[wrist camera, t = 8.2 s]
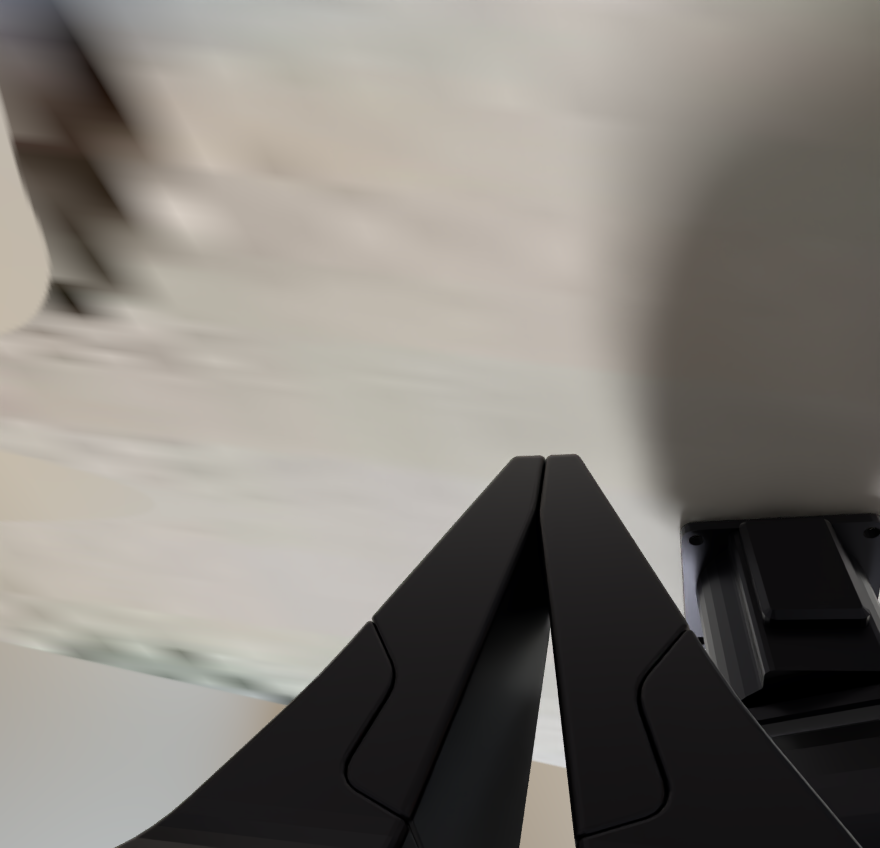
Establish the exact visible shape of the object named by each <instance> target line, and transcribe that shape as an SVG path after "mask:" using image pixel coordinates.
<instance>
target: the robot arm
mask: <svg viewBox="0 0 880 848" xmlns="http://www.w3.org/2000/svg"><path fill="white" fill-rule="evenodd" d="M871 527H874V528H873V529H871V530H866V529H867V528H871ZM694 535H700V537H697V538H693V537H692V536H694ZM680 537H681V555H682V573H683V591H684V608H685V618H684V617H683V615H682V614H681V612H680V611H679V609H678V608H677V606H676V604H675V603H674V601H673V600H672V598H671V597H670V595H669V594H668V592H667V591H666V589H665V587H664V586H663V584H662V583H661V581H660V580H659V578H658V577H657V575H656V574H655V572H654V570H653V569H652V567H651V566H650V564H649V563H648V561H647V560H646V558H645V557H644V555H643V554H642V552H641V550H640V549H639V547H638V546H637V544H636V543H635V541H634V540H633V538H632V537H631V535H630V533H629V532H628V530H627V529H626V527H625V526H624V524H623V523H622V521H621V520H620V518H619V516H618V515H617V513H616V512H615V510H614V509H613V507H612V506H611V504H610V503H609V501H608V499H607V498H606V496H605V495H604V493H603V492H602V490H601V489H600V487H599V486H598V484H597V483H596V481H595V479H594V478H593V476H592V475H591V473H590V472H589V470H588V469H587V467H586V466H585V464H584V462H583V461H582V459H581V458H580V457H579V456H578V455H576V454H564V455H550V456H548V457H547V459H545V458H544V457H543V456H540V455H537V456H516V457H514V458H512V459H511V460H510V462H509V463H508V464H507V465H506V466H505V467H504V468H503V469H502V471H501V472H500V473H499V474H498V475H497V476H496V477H495V479H494V480H493V481H492V482H491V483H490V484H489V485H488V486H487V488H486V489H485V490H484V491H483V492H482V493H481V494H480V496H479V497H478V498H477V499H476V500H475V501H474V502H473V503H472V505H471V506H470V507H469V508H468V509H467V510H466V511H465V512H464V514H463V515H462V516H461V517H460V518H459V519H458V520H457V522H456V523H455V524H454V525H453V526H452V527H451V528H450V529H449V531H448V532H447V533H446V534H445V535H444V536H443V537H442V538H441V540H440V541H439V542H438V543H437V544H436V545H435V546H434V548H433V549H432V550H431V551H430V552H429V553H428V554H427V555H426V557H425V558H424V559H423V560H422V561H421V562H420V563H419V564H418V566H417V567H416V568H415V569H414V570H413V571H412V572H411V574H410V575H409V576H408V577H407V578H406V579H405V580H404V581H403V583H402V584H401V585H400V586H399V587H398V588H397V589H396V590H395V592H394V593H393V594H392V595H391V596H390V597H389V598H388V600H387V601H386V602H385V603H384V604H383V605H382V606H381V607H380V609H379V610H378V611H377V612H376V613H375V614H374V615H373V617H372V621H373V622H372V621H368V622H367V623H366V624H365V625H364V626H363V627H362V629H361V630H360V631H359V632H358V633H357V634H356V635H355V636H354V638H353V639H352V640H351V641H350V642H349V643H348V644H347V645H346V646H345V647H344V649H343V650H342V651H341V652H340V653H339V654H338V655H337V656H336V657H335V658H334V659H333V660H332V661H331V662H330V664H329V665H328V666H327V667H326V668H325V669H324V670H323V671H322V672H321V673H320V674H319V675H318V676H317V677H316V678H315V679H314V680H313V681H312V682H311V683H310V684H309V685H308V686H307V687H306V688H305V689H304V690H303V691H302V692H301V693H300V694H299V695H298V696H297V697H296V698H295V699H294V700H292V701H291V702H290V703H289V704H288V705H287V706H286V707H285V708H284V709H283V710H282V711H281V712H280V713H279V714H278V715H277V716H276V717H275V718H274V719H272V720H271V721H270V722H269V723H268V724H267V725H266V726H265V727H264V728H263V729H262V730H261V731H259V732H258V734H256V735H255V736H254V737H253V738H252V739H251V740H250V741H249V742H248V743H247V744H245V746H243V747H242V748H241V749H240V750H239V751H238V752H237V753H236V754H235V755H234V756H233V757H231V758H230V760H228V761H227V762H226V763H225V764H224V765H223V766H222V767H221V768H219V770H217V771H216V772H215V773H214V774H213V775H212V776H211V777H210V778H209V779H208V780H207V781H206V782H204V783H203V784H202V785H201V786H200V787H199V788H198V789H197V790H196V791H195V792H194V793H192V795H190V796H189V797H188V798H187V799H186V800H185V801H183V802H182V803H181V804H180V805H179V806H178V807H176V808H175V809H174V810H173V811H172V812H171V813H169V814H168V815H167V816H165V817H164V818H162V819H161V820H160V821H158V822H157V823H156V824H154V825H153V826H151V827H150V828H149V829H147V830H145V831H144V832H142V833H140V834H139V835H138V836H136V837H134V838H132V839H131V840H129V841H127V842H125V843H123V844H121V845H119V846H117V847H115V848H519V845H520V838H521V831H522V824H523V817H524V809H525V803H526V796H527V789H528V782H529V774H530V768H531V761H532V754H533V747H534V740H535V733H536V726H537V719H538V712H539V705H540V698H541V691H542V684H543V677H544V670H545V662H546V655H547V648H548V641H549V633H550V627H551V636H552V645H553V654H554V663H555V671H556V680H557V689H558V698H559V707H560V716H561V724H562V733H563V742H564V751H565V760H566V768H567V777H568V786H569V794H570V803H571V812H572V821H573V830H574V839H575V846H576V848H880V604H879V602H878V596H879V590H880V516H879V515H877V514H849V515H829V516H809V517H790V518H770V519H750V520H730V521H710V522H693V523H689V524H687V525H685V526H684V527H683V528H682V529H681V532H680ZM705 649H706V650H705Z"/></svg>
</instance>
